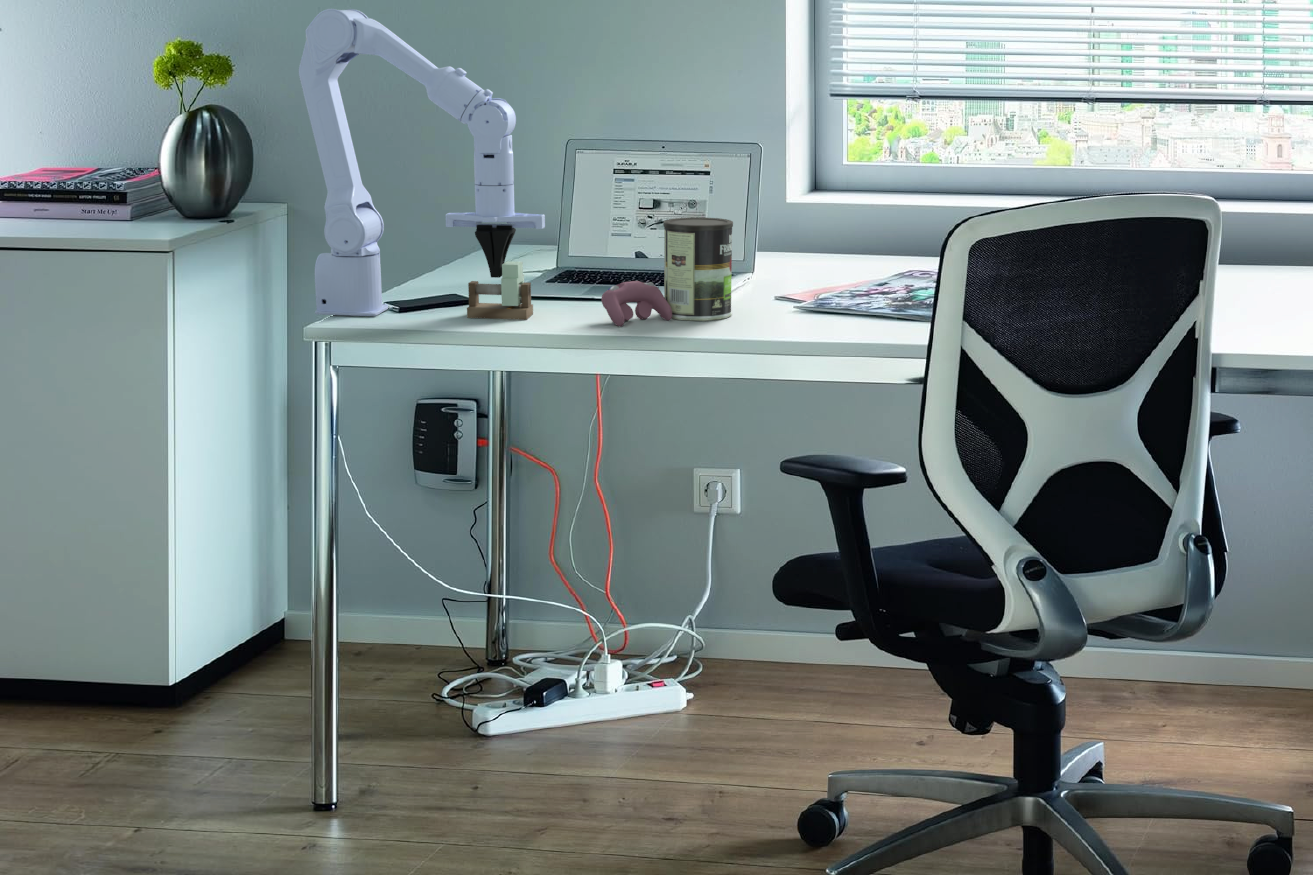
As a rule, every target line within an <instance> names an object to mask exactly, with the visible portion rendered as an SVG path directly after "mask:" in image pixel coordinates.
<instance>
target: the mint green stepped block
mask: <svg viewBox="0 0 1313 875" xmlns="http://www.w3.org/2000/svg"><path fill="white" fill-rule="evenodd" d="M523 263H524V262H523V261H505V262H504V264H502V276H501V277H502V278H501V279H500V280H501V281H500V284H501V292H502V295H501V304H502V306H518V305H520V304H521V296H519V285H521V284H523V283H524V282H525V274H524V267H523V266H524V265H523Z"/></svg>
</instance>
